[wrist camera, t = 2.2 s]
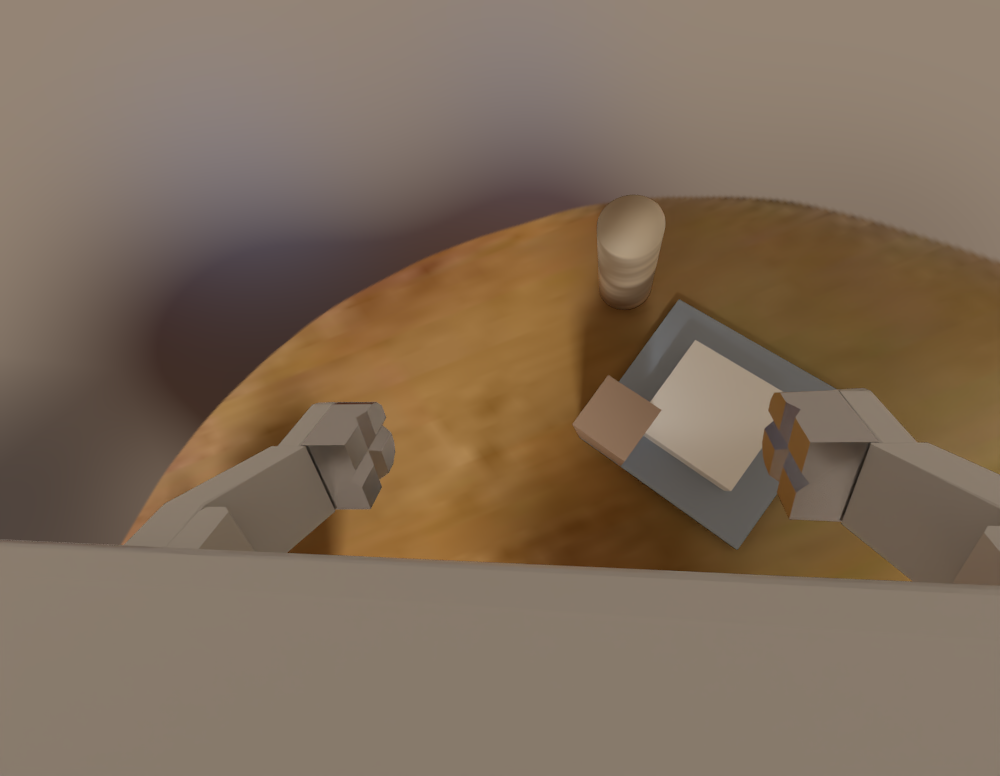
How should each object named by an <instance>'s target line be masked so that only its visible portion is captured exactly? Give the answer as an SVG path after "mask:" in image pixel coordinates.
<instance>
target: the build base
mask: <svg viewBox="0 0 1000 776" xmlns="http://www.w3.org/2000/svg"><path fill="white" fill-rule="evenodd" d="M825 390H837V389H835V388H834V387H832V386H830V385H828V384H827V383H825V382H823V381H821V380H820V379H818V378H816V377H814V376H813V375H811V374H809V373H807V372H806V371H804V370H802V369H800V368H799V367H797V366H795V365H793V364H792V363H790V362H788V361H786V360H785V359H783V358H781V357H779V356H778V355H776V354H774V353H772V352H771V351H769V350H767V349H765V348H764V347H762V346H760V345H758V344H757V343H755V342H753V341H751V340H750V339H748V338H746V337H744V336H743V335H741V334H739V333H737V332H736V331H734V330H732V329H730V328H729V327H727V326H725V325H723V324H722V323H720V322H718V321H716V320H715V319H713V318H711V317H709V316H708V315H706V314H704V313H702V312H701V311H699V310H697V309H695V308H694V307H692V306H690V305H688V304H687V303H685V302H683V301H681V300H680V299H679V300H678V301H677V302H676V304H675V305H674V307H673V308H672V309H671V311H670V312H669V313H668V315H667V316H666V318H665V319H664V320H663V322H662V323H661V324H660V326H659V327H658V329H657V330H656V331H655V333H654V334H653V335H652V337H651V338H650V340H649V341H648V342H647V344H646V345H645V346H644V348H643V349H642V351H641V352H640V353H639V355H638V356H637V357H636V359H635V360H634V362H633V363H632V364H631V366H630V367H629V368H628V370H627V371H626V373H625V374H624V375H623V377H622V378H621V379H620V381H619V382H618V381H617V380H615V379H614V378H612V377H611V376H609V375H608V376H607V377H606V379H605V380H604V381H603V383H602V384H601V386H600V387H599V388H598V390H597V391H596V392H595V394H594V395H593V397H592V398H591V399H590V401H589V402H588V403H587V405H586V406H585V408H584V409H583V410H582V412H581V413H580V414H579V416H578V417H577V419H576V420H575V421H574V423H573V424H572V425H573V426H574V428H575V430H576V432H577V434H578V435H579V437H580V438H581V439H583V440H584V441H585V442H587V443H588V444H590V445H591V446H592V447H594V448H595V449H596V450H598V451H599V452H601V453H602V454H603V455H605V456H606V457H608V458H609V459H610V460H612V461H613V462H615V463H616V464H617V465H619V466H620V467H622V468H623V469H624V470H626V471H627V472H629V473H630V474H631V475H633V476H634V477H636V478H637V479H638V480H640V481H641V482H643V483H644V484H645V485H647V486H648V487H650V488H651V489H652V490H654V491H655V492H657V493H658V494H659V495H661V496H662V497H664V498H665V499H666V500H668V501H669V502H670V503H672V504H673V505H675V506H676V507H677V508H679V509H680V510H682V511H683V512H684V513H686V514H687V515H689V516H690V517H691V518H693V519H694V520H696V521H697V522H698V523H700V524H701V525H703V526H704V527H705V528H707V529H708V530H710V531H711V532H712V533H714V534H715V535H717V536H718V537H719V538H721V539H722V540H724V541H725V542H726V543H728V544H729V545H731V546H732V547H733V548H735V549H737V550H738V549H739V547H740V546H741V544H742V543H743V541H744V540H745V539H746V537H747V536H748V534H749V533H750V532H751V530H752V529H753V527H754V526H755V524H756V523H757V522H758V520H759V519H760V517H761V516H762V515H763V513H764V512H765V510H766V509H767V508H768V506H769V505H770V503H771V502H772V500H773V499H774V498H775V496H776V495H777V489H778V485H779V482H778V481H777V480H775V479H774V478H772V477H771V476H769V474H768V471H767V469H766V467H765V463H764V459H763V451H762V440H763V434H764V429H765V428H766V427H767V426H768V425H769V424H770V423H771V422H773V421H774V420H773V419H772V417H771V415H770V413H769V411H768V409H769V404H770V400H771V398H772V396H773V394H774V393H776V392H801V391H825Z"/></svg>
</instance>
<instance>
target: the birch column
mask: <svg viewBox="0 0 1000 776" xmlns="http://www.w3.org/2000/svg"><path fill="white" fill-rule="evenodd" d="M664 230H665V216H664V213H663V211H662V209H661V208H660V206H659V205H658V204H657V203H656V202H655V201H653V200H652V199H650V198H648V197H645V196H640V195H626V196H622V197H620V198H617V199H615V200H613V201H612V202H610V203H609V204H608V205H607V206H606V207H605V208H604V209H603V210H602V212H601V214H600V216H599V218H598V222H597V245H598V274H599V292H600V295H601V297H602V299H603V300H604V301H605V302H606V303H607V304H608V305H609V306H611V307H613V308H616V309H620V310H628V309H632V308H635V307H637V306H639V305H641V304H642V303H643V302H644V301H645V300H646V299H647V297H648V296H649V294H650V291H651V287H652V283H653V278H654V274H655V270H656V265H657V261H658V256H659V252H660V248H661V243H662V239H663V235H664Z"/></svg>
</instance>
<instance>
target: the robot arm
mask: <svg viewBox="0 0 1000 776" xmlns="http://www.w3.org/2000/svg"><path fill="white" fill-rule="evenodd" d="M768 411H769V413H770V415H771V417H772V419H773V420H774V421H773V422H771V423H770V424H769V425H768V426H767V427H766V428H765V429H764V434H763V440H762V451H763V459H764V463H765V467H766V469H767V471H768V474H769V476H771V477H772V478H774V479H775V480H777V481H778V482H779V485H778V489H777V494H778V496H779V498H780V500H781V503H782V505H783V507H784V509H785V511H786V513H787V516H788V518H789V519H796V520H817V521H837V522H842V523H841V524H842V525H843V526H845V527H846V528H847V529H848V530H850V531H851V532H852V533H853V534H855V535H856V536H857V537H858V538H860V539H861V540H862V541H863V542H865V543H866V544H867V545H868V546H870V547H871V548H872V549H873V550H875V551H876V552H877V553H878V554H880V555H881V556H882V557H883V558H885V559H886V560H887V561H888V562H890V563H891V564H892V565H893V566H895V567H896V568H897V569H898V570H899V571H901V572H902V573H903V574H904V575H906V576H907V577H908V578H909V579H911V580H912V581H913V582H909V581H887V580H864V579H841V578H817V577H794V576H772V575H752V574H731V573H710V572H689V571H668V570H647V569H627V568H606V567H584V566H562V565H540V564H517V563H495V562H473V561H451V560H429V559H407V558H385V557H364V556H342V555H320V554H298V553H287V552H288V551H290V550H291V549H292V548H293V547H294V546H295V545H297V544H298V543H299V542H300V541H301V540H302V539H304V538H305V537H306V536H307V535H308V534H309V533H311V532H312V531H313V530H314V529H315V528H316V527H317V526H319V525H320V524H321V523H322V522H323V521H324V520H326V519H327V518H328V517H329V516H330V515H331V514H333V513H334V512H335V509H371V507H372V505H373V503H374V502H375V500H376V498H377V496H378V494H379V492H380V490H381V488H382V486H381V483H380V481H379V479H381V478H382V477H384V476H385V475H386V474H388V473H389V471H390V469H391V467H392V465H393V462H394V455H395V446H394V440H393V437H392V434H391V432H390V431H388V430H387V429H386V428H385V427H384V426H383V423H384V421H385V419H386V416H385V413H384V410H383V408H382V405H380V404H379V403H377V402H337V403H335V402H327V403H316V404H313V405H312V406H311V407H310V408H309V409H308V411H307V412H306V413H305V414H304V415H303V417H302V418H301V419H300V420H299V421H298V422H297V424H296V425H295V426H294V427H293V428H292V430H291V431H290V432H289V433H288V434H287V436H286V437H285V438H284V439H283V440H282V441H281V443H280V444H279V445H278V446H271V447H269V448H267V449H265V450H264V451H262V452H260V453H258V454H256V455H254V456H252V457H251V458H249V459H247V460H245V461H243V462H241V463H239V464H237V465H236V466H234V467H232V468H230V469H228V470H226V471H224V472H223V473H221V474H219V475H217V476H215V477H213V478H211V479H210V480H208V481H206V482H204V483H202V484H200V485H198V486H197V487H195V488H193V489H191V490H189V491H187V492H185V493H184V494H182V495H180V496H178V497H176V498H174V499H172V500H170V501H169V502H167V503H165V504H164V505H163V506H162V507H161V508H160V509H159V510H158V511H157V512H156V513H155V514H154V515H153V516H152V517H151V518H150V519H149V520H148V521H147V522H146V523H145V524H144V525H143V526H142V527H141V528H140V529H139V530H138V531H137V532H136V533H135V534H134V535H133V536H132V537H131V538H130V539H129V540H128V541H127V542H126V543H125V544H124V545H104V544H83V543H62V542H40V541H20V540H0V776H1000V475H999V474H997V473H995V472H993V471H990V470H988V469H986V468H984V467H981V466H979V465H977V464H975V463H972V462H970V461H968V460H966V459H964V458H961V457H959V456H957V455H955V454H952V453H950V452H948V451H946V450H943V449H941V448H939V447H937V446H934V445H932V444H930V443H917V442H916V440H915V439H914V438H913V437H912V436H911V435H910V434H909V433H908V432H907V430H906V429H905V428H904V427H903V426H902V425H901V424H900V423H899V422H898V420H897V419H896V418H895V417H894V416H893V415H892V414H891V413H890V412H889V410H888V409H887V408H886V407H885V406H884V405H883V404H882V403H881V402H880V400H879V399H878V398H877V397H876V396H875V395H874V394H873V393H872V392H871V391H870V390H868V389H865V388H855V389H837V390H825V391H801V392H776V393H774V394H773V396H772V398H771V400H770V404H769V409H768Z"/></svg>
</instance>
